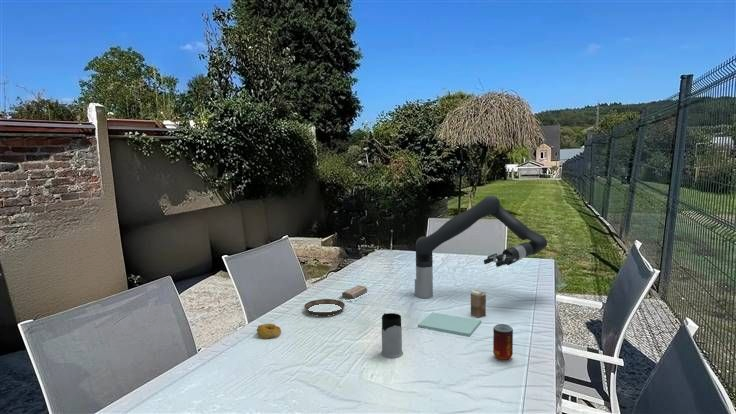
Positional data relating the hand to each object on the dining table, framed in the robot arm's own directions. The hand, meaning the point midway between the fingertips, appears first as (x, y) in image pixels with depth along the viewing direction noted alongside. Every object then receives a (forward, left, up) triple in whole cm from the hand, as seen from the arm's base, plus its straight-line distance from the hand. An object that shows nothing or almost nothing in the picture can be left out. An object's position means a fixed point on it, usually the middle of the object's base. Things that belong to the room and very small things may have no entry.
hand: (490, 263), depth 214 cm
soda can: (+17, -48, -25) cm, 57 cm away
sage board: (-12, -25, -24) cm, 37 cm away
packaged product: (-74, -9, -25) cm, 78 cm away
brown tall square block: (-4, -7, -24) cm, 26 cm away
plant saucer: (-75, -35, -25) cm, 86 cm away
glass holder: (-24, -62, -25) cm, 71 cm away
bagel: (-78, -72, -25) cm, 110 cm away
